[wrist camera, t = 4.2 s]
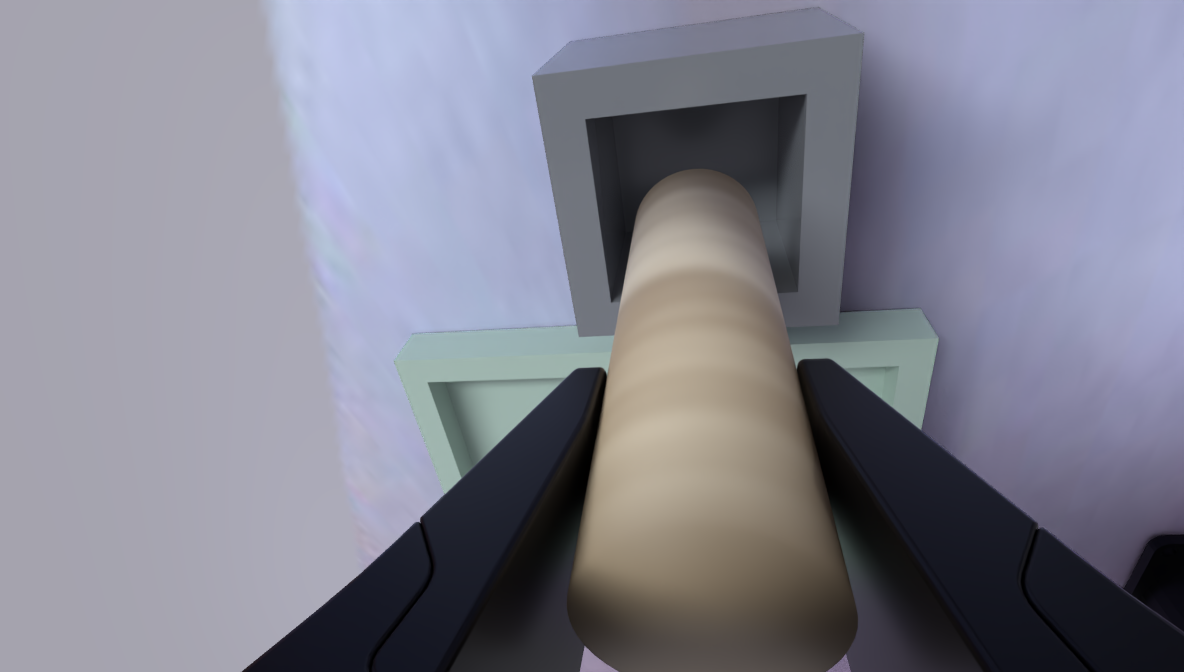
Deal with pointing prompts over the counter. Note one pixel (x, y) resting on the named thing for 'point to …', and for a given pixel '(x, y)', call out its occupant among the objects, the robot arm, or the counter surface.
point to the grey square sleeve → (706, 145)
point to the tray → (549, 354)
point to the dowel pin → (706, 461)
